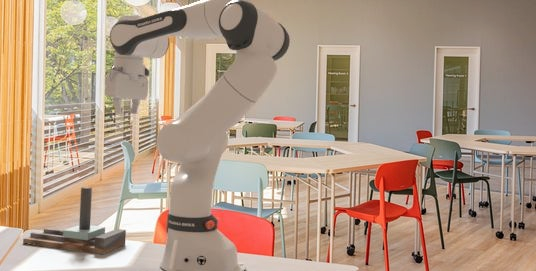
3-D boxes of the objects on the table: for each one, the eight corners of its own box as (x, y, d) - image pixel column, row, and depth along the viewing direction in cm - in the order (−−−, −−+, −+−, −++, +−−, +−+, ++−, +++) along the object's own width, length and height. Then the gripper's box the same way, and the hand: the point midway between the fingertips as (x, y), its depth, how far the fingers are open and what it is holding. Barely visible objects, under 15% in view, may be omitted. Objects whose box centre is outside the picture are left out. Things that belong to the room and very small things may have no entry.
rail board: (125, 244, 162) (125, 229, 162) (103, 254, 150) (104, 238, 150) (49, 235, 168) (50, 220, 168) (23, 243, 157) (23, 228, 156)
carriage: (104, 233, 162) (106, 187, 161) (87, 240, 153) (90, 191, 153) (81, 230, 164) (83, 184, 163) (63, 237, 155) (65, 188, 154)
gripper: (120, 65, 156) (118, 113, 156) (152, 72, 176) (150, 114, 176) (100, 65, 157) (98, 112, 158) (134, 71, 177) (132, 113, 178)
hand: (126, 113), depth 167 cm, fingers open, 8 cm apart
